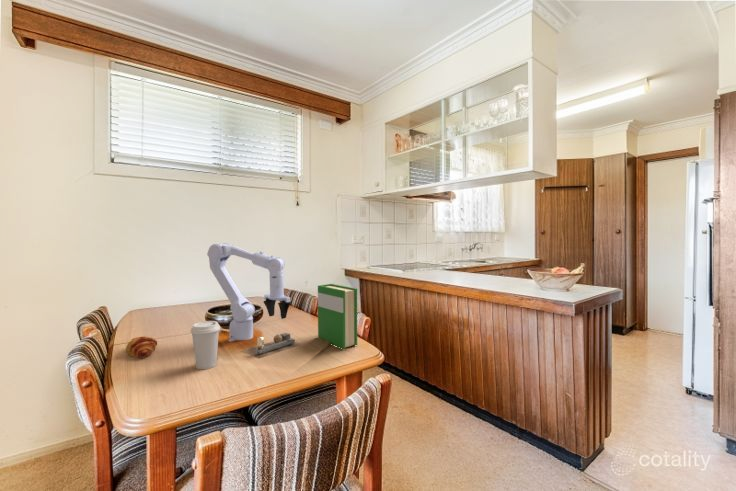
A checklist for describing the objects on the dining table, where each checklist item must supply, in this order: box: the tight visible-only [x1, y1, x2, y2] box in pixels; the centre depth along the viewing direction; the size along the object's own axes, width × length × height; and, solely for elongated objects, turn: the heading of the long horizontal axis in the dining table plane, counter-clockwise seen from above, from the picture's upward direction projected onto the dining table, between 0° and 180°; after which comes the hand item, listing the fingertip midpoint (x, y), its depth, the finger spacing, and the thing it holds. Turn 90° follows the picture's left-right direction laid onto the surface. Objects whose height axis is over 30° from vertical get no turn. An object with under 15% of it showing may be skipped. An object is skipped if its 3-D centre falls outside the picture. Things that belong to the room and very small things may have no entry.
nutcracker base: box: [241, 332, 301, 359], centre depth 131 cm, size 20×12×4 cm, turn 141°
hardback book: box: [317, 283, 358, 350], centre depth 140 cm, size 18×7×24 cm, turn 43°
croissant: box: [125, 335, 158, 359], centre depth 129 cm, size 21×10×8 cm, turn 42°
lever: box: [256, 336, 296, 354], centre depth 129 cm, size 16×2×6 cm, turn 139°
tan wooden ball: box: [273, 334, 283, 343], centre depth 136 cm, size 4×4×4 cm
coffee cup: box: [189, 320, 221, 370], centre depth 116 cm, size 10×10×15 cm
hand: (277, 317), depth 143 cm, fingers open, 7 cm apart
